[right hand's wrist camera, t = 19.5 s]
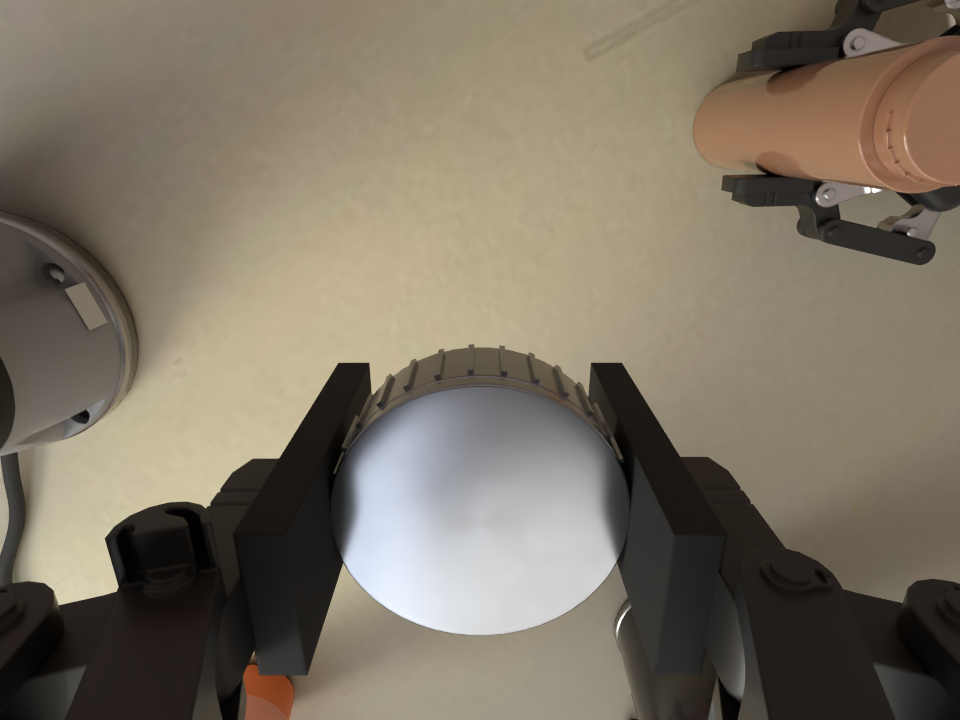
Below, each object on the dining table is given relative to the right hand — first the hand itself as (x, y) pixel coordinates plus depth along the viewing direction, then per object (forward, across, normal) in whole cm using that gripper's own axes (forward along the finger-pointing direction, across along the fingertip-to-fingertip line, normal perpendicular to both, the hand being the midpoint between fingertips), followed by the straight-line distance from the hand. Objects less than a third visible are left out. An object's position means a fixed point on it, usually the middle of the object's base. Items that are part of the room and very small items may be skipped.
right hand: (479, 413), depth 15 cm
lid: (-4, 0, 0) cm, 4 cm away
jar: (+24, +15, +7) cm, 29 cm away
